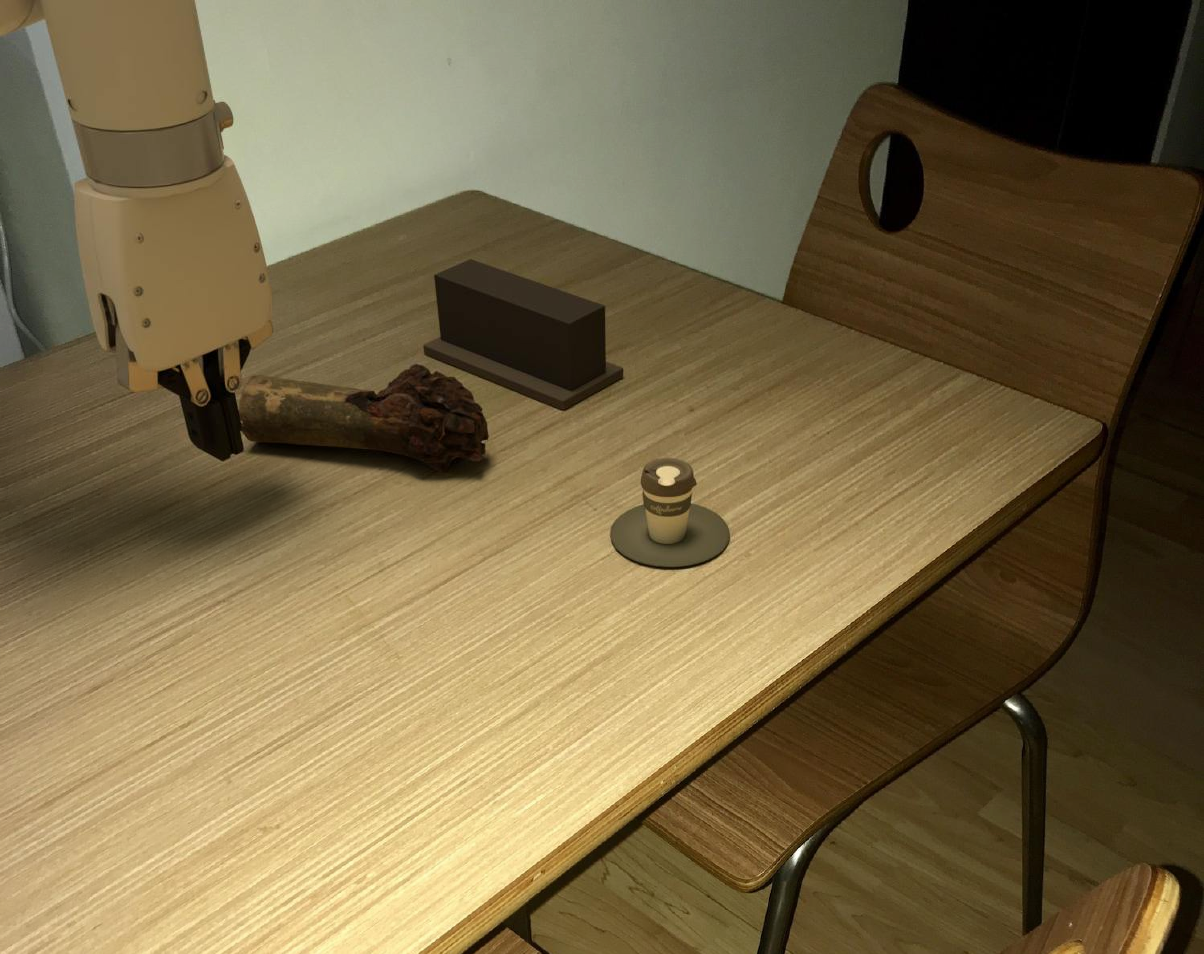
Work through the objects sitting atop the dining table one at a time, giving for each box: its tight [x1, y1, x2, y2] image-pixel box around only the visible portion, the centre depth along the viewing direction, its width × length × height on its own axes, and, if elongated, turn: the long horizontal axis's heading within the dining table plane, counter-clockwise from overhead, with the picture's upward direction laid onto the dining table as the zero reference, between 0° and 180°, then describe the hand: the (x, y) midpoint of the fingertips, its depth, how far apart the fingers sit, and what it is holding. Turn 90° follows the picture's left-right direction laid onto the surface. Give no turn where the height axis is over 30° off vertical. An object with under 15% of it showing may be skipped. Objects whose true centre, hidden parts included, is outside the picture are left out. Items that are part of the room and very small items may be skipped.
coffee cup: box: [609, 457, 731, 569], centre depth 82 cm, size 12×12×5 cm
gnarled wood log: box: [237, 363, 490, 473], centre depth 90 cm, size 18×7×6 cm, turn 73°
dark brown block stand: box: [422, 258, 624, 411], centre depth 99 cm, size 15×7×6 cm, turn 49°
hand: (219, 449), depth 83 cm, fingers closed
